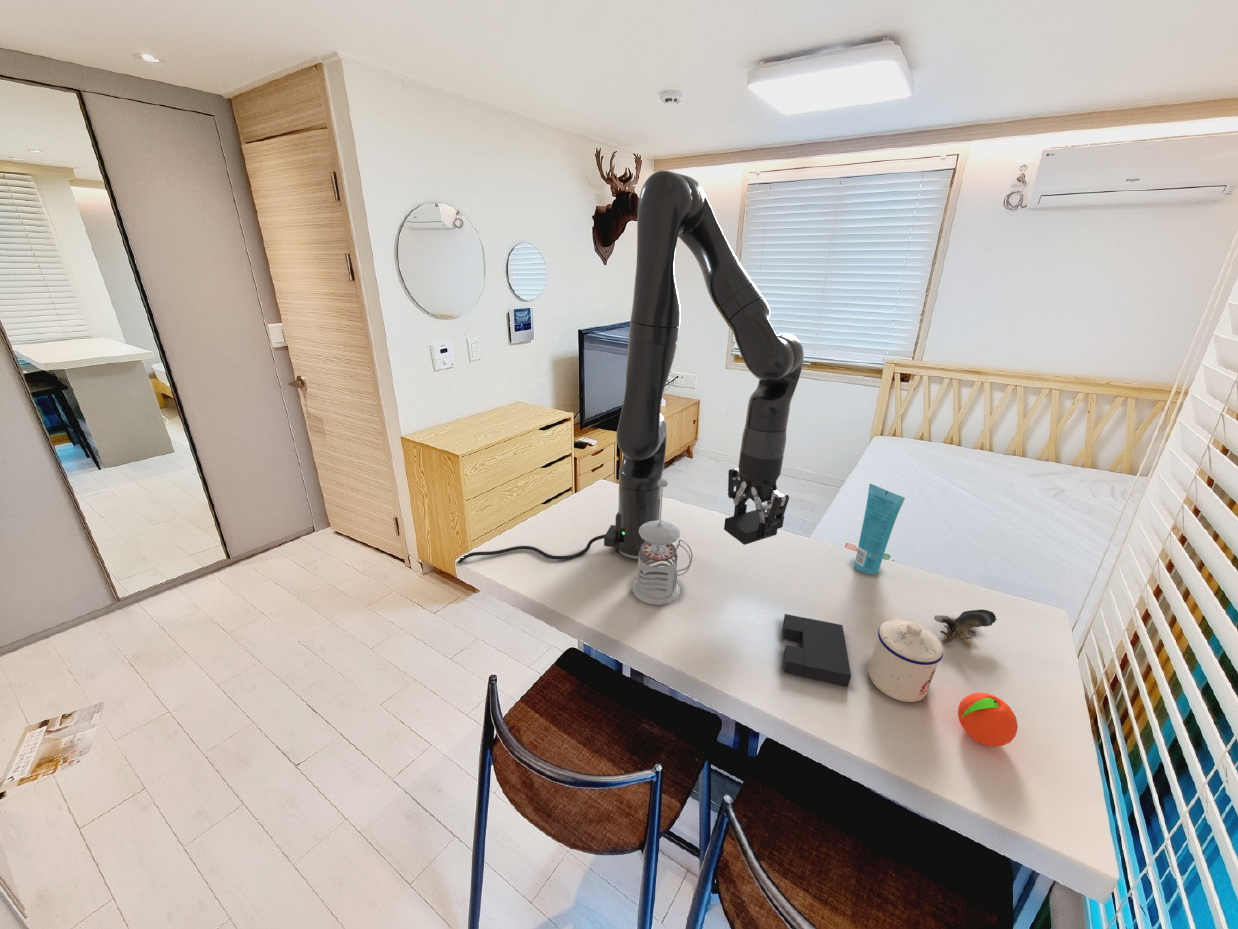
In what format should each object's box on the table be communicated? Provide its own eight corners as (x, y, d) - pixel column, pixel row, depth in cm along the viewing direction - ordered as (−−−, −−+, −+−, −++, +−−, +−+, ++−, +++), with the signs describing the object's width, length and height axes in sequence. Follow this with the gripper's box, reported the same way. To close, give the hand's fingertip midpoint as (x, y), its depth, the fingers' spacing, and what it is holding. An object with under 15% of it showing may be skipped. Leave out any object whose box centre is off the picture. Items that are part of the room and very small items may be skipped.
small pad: (744, 545, 93) (745, 533, 92) (723, 529, 98) (725, 518, 97) (788, 531, 98) (790, 520, 97) (766, 516, 102) (768, 506, 101)
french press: (640, 570, 108) (645, 464, 98) (693, 582, 105) (704, 474, 94) (625, 598, 100) (628, 485, 89) (682, 612, 96) (693, 497, 86)
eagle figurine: (980, 659, 85) (1005, 631, 89) (962, 621, 85) (989, 595, 89) (936, 652, 92) (962, 626, 96) (920, 617, 92) (946, 592, 96)
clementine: (971, 762, 70) (987, 727, 67) (934, 719, 76) (948, 685, 73) (1020, 754, 71) (1039, 719, 68) (980, 712, 77) (995, 678, 74)
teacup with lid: (931, 713, 77) (953, 655, 72) (866, 692, 80) (883, 636, 75) (922, 658, 87) (942, 605, 82) (865, 642, 90) (880, 589, 85)
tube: (887, 572, 109) (910, 493, 101) (877, 580, 107) (899, 500, 99) (855, 556, 115) (874, 480, 107) (844, 564, 112) (863, 487, 104)
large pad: (783, 672, 83) (785, 661, 82) (782, 624, 94) (784, 613, 93) (848, 687, 81) (851, 675, 80) (839, 635, 91) (842, 624, 90)
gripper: (808, 460, 86) (792, 543, 93) (751, 432, 97) (741, 508, 104) (775, 468, 82) (761, 553, 89) (720, 438, 94) (711, 516, 101)
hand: (750, 529), depth 97 cm, fingers closed on small pad, 6 cm apart
